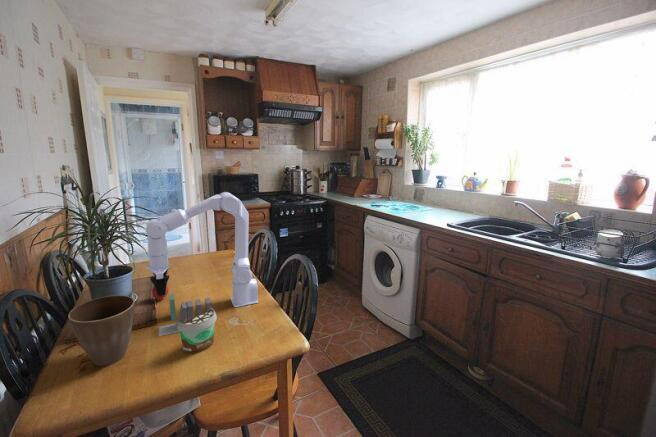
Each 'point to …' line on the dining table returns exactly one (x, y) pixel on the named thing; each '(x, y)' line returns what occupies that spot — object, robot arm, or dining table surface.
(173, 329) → the coaster
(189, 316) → the domino
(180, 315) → the domino
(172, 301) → the domino
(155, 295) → the onion
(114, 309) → the plant pot
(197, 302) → the domino
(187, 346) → the food container
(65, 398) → the dining table surface
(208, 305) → the domino
